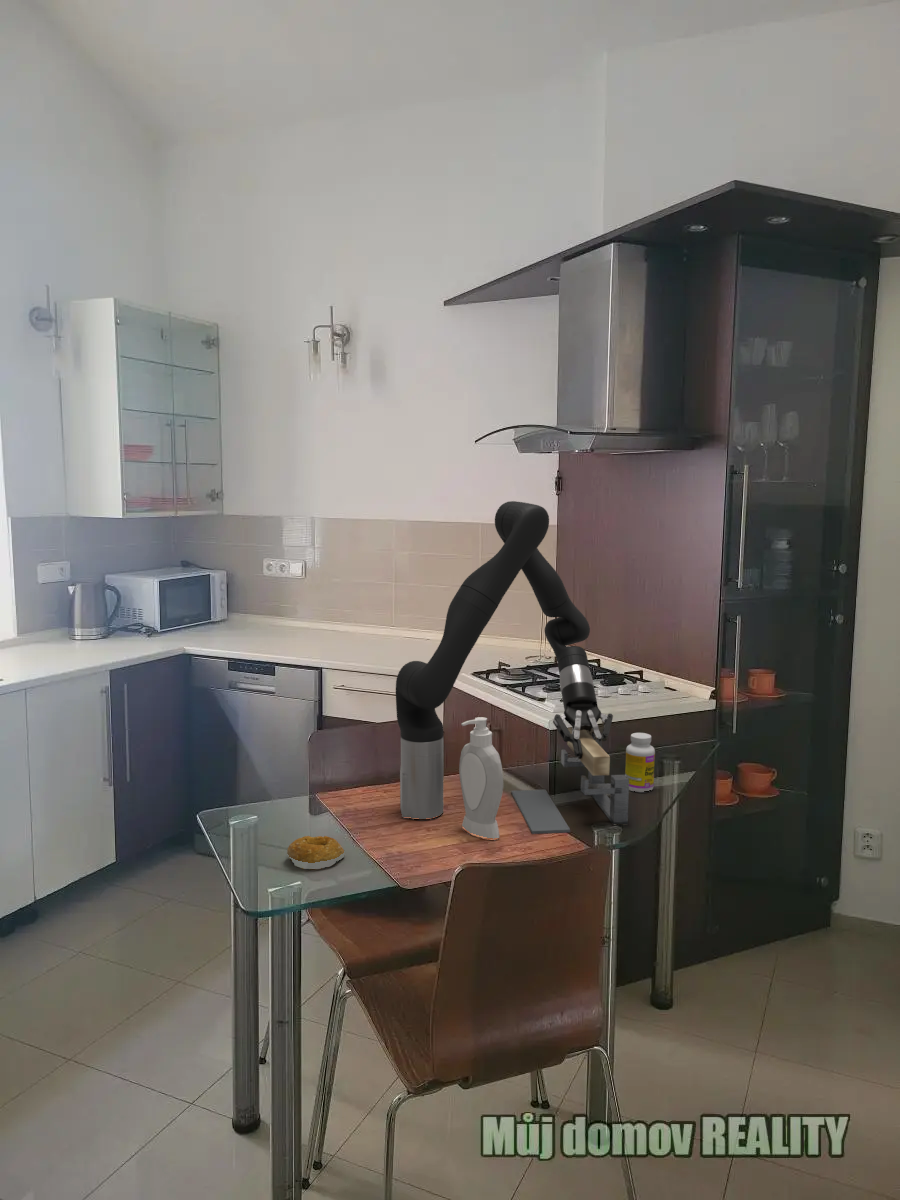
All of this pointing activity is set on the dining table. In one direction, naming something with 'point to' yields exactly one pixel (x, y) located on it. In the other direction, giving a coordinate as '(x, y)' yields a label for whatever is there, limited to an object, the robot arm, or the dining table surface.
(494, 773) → the soap bottle
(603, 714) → the robot arm
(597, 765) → the rail
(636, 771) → the supplement bottle
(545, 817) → the mat
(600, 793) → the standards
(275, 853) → the dining table surface
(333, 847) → the bagel
